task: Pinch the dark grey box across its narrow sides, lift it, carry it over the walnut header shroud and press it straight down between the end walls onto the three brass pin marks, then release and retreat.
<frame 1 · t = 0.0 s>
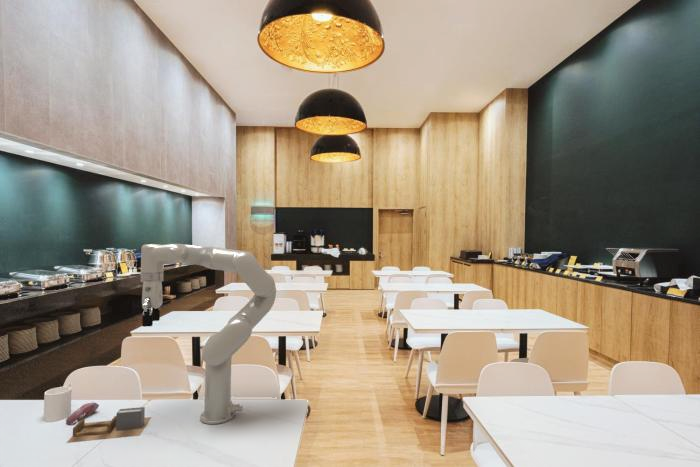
hand: (151, 323, 141), 37 cm above the table, tool pointing down, fingers open, 9 cm apart
dark grey box: (130, 427, 135), point 1 cm above the table, touching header
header: (111, 431, 134), on the table
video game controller: (83, 419, 143), on the table
cup: (60, 415, 147), on the table
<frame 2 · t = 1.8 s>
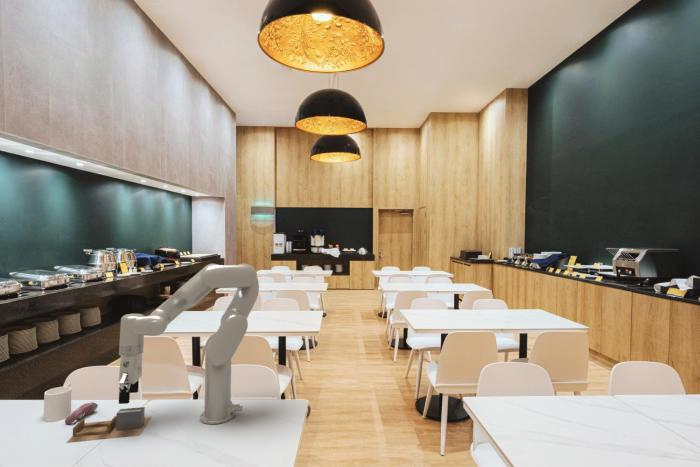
hand: (128, 397, 135), 12 cm above the table, tool pointing down, fingers open, 9 cm apart
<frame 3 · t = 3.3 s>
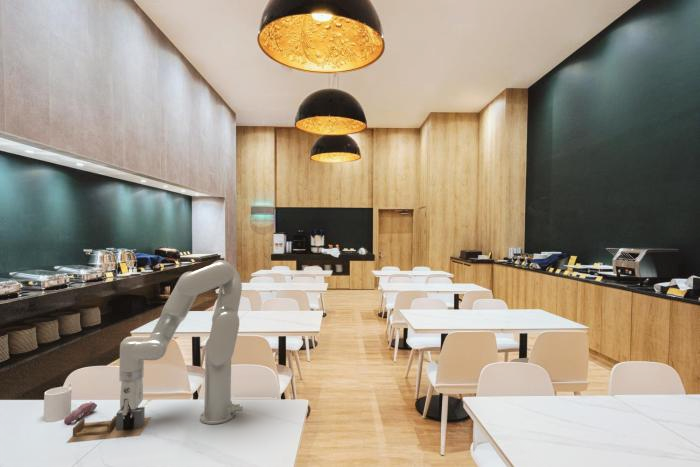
hand: (130, 425, 135), 2 cm above the table, tool pointing down, fingers closed on dark grey box, 3 cm apart
dark grey box: (130, 427, 135), point 1 cm above the table, touching gripper, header
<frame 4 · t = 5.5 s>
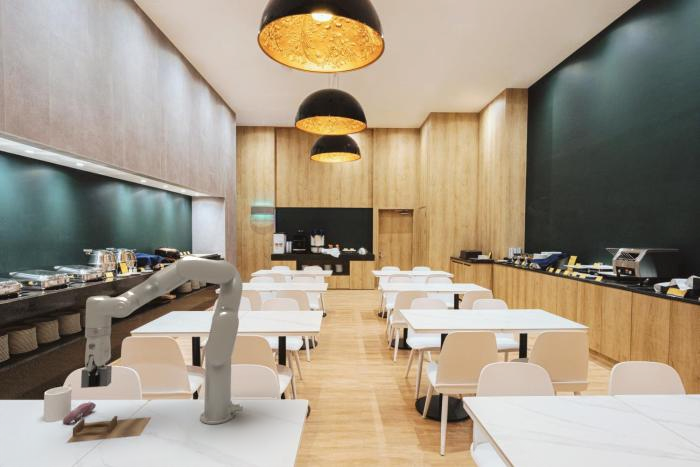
hand: (96, 383, 133), 17 cm above the table, tool pointing down, fingers closed on dark grey box, 3 cm apart
dark grey box: (96, 385, 133), point 17 cm above the table, touching gripper
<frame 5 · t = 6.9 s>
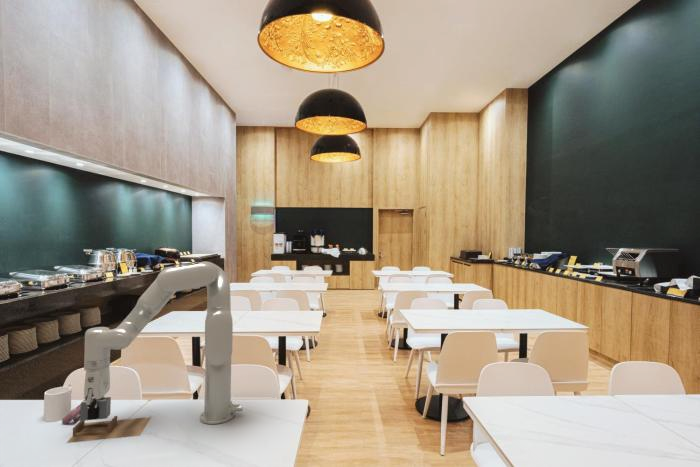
hand: (95, 415, 133), 6 cm above the table, tool pointing down, fingers closed on dark grey box, 3 cm apart
dark grey box: (95, 417, 133), point 6 cm above the table, touching gripper
when the fingers open (3 cm above the table, at t = 7.9 s): dark grey box stays where it is, resting on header.
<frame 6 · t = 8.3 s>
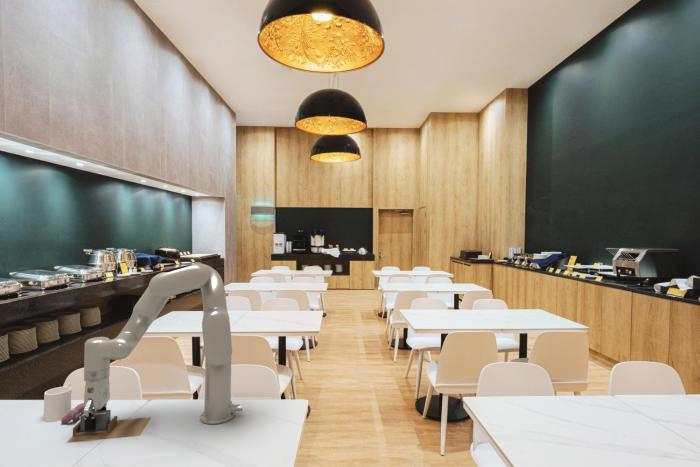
hand: (95, 423, 133), 3 cm above the table, tool pointing down, fingers open, 8 cm apart
dark grey box: (95, 430, 132), point 1 cm above the table, touching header
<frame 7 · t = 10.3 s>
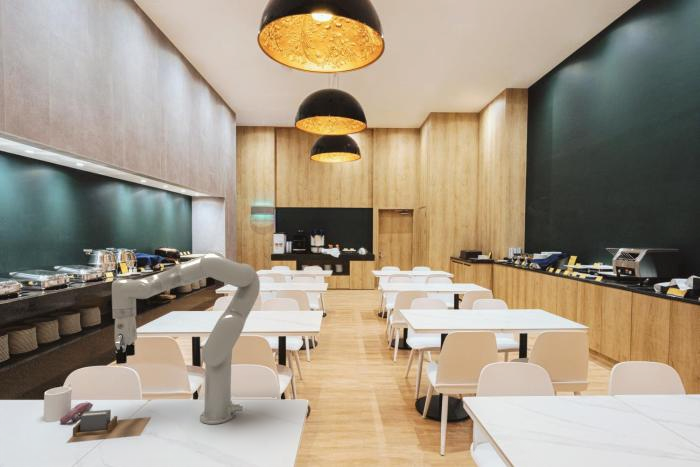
hand: (125, 359, 140), 24 cm above the table, tool pointing down, fingers open, 9 cm apart
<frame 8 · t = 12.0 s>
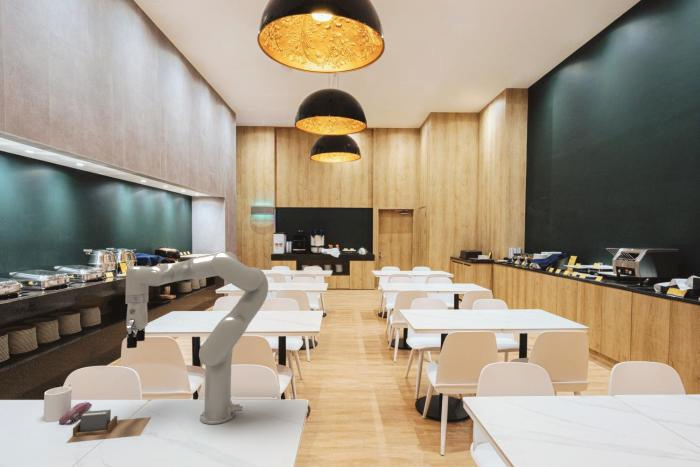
hand: (136, 344, 143), 28 cm above the table, tool pointing down, fingers open, 9 cm apart
at the end: dark grey box 0.0 cm from the target spot on the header, point 1.1 cm above the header's base; dark grey box tilted 0°; the gripper is holding nothing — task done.
